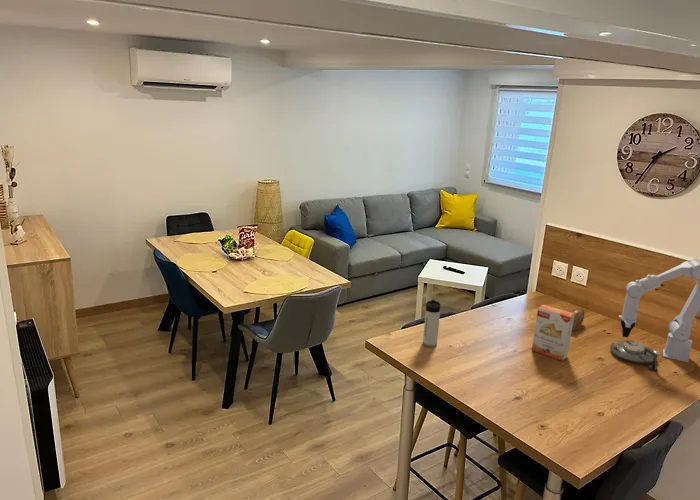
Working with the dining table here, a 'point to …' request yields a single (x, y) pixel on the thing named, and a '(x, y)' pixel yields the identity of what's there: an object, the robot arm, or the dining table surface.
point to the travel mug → (431, 323)
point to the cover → (633, 347)
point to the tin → (578, 318)
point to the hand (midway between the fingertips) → (625, 336)
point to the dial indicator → (655, 353)
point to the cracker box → (553, 332)
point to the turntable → (620, 352)
